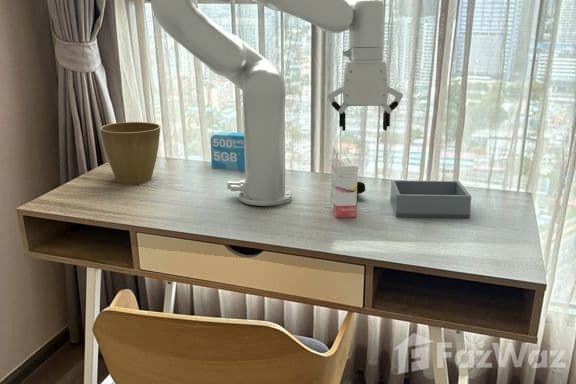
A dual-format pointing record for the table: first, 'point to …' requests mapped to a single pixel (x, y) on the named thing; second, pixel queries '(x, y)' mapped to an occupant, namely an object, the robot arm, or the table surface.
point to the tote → (430, 199)
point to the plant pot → (131, 150)
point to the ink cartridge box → (343, 186)
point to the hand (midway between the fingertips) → (364, 129)
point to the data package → (228, 151)
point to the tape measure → (360, 187)
